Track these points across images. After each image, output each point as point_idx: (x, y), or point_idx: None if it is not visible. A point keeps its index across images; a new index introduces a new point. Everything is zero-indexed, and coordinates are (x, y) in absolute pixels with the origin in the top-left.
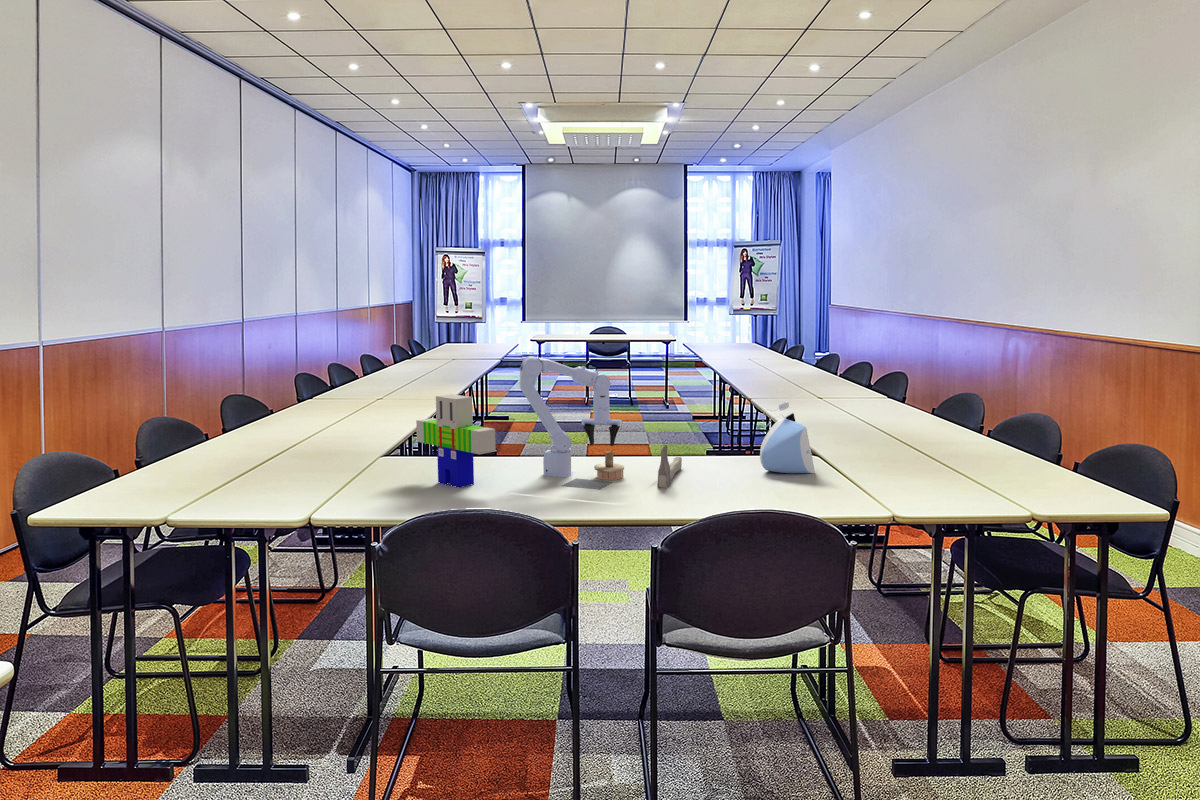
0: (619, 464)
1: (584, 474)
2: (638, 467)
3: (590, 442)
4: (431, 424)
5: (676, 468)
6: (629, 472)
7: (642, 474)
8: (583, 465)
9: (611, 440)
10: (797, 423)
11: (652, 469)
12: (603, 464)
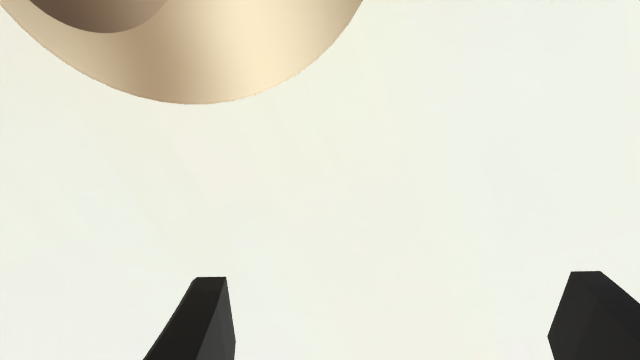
0: (109, 76)
1: (527, 9)
2: None
3: (621, 299)
4: None
5: None
6: (160, 206)
7: (24, 176)
8: None
9: (169, 350)
10: None
11: (64, 322)
12: (298, 9)
